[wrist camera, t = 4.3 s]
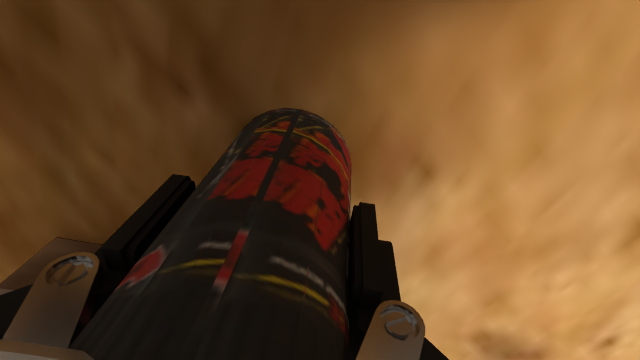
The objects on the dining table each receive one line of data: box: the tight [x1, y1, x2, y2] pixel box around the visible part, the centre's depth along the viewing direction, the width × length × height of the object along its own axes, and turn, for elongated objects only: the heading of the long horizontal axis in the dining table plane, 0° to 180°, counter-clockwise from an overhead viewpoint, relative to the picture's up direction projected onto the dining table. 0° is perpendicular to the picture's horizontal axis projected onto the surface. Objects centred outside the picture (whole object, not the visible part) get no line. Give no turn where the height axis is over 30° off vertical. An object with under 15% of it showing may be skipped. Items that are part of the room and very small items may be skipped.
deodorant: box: [68, 108, 351, 360], centre depth 9 cm, size 6×6×15 cm
